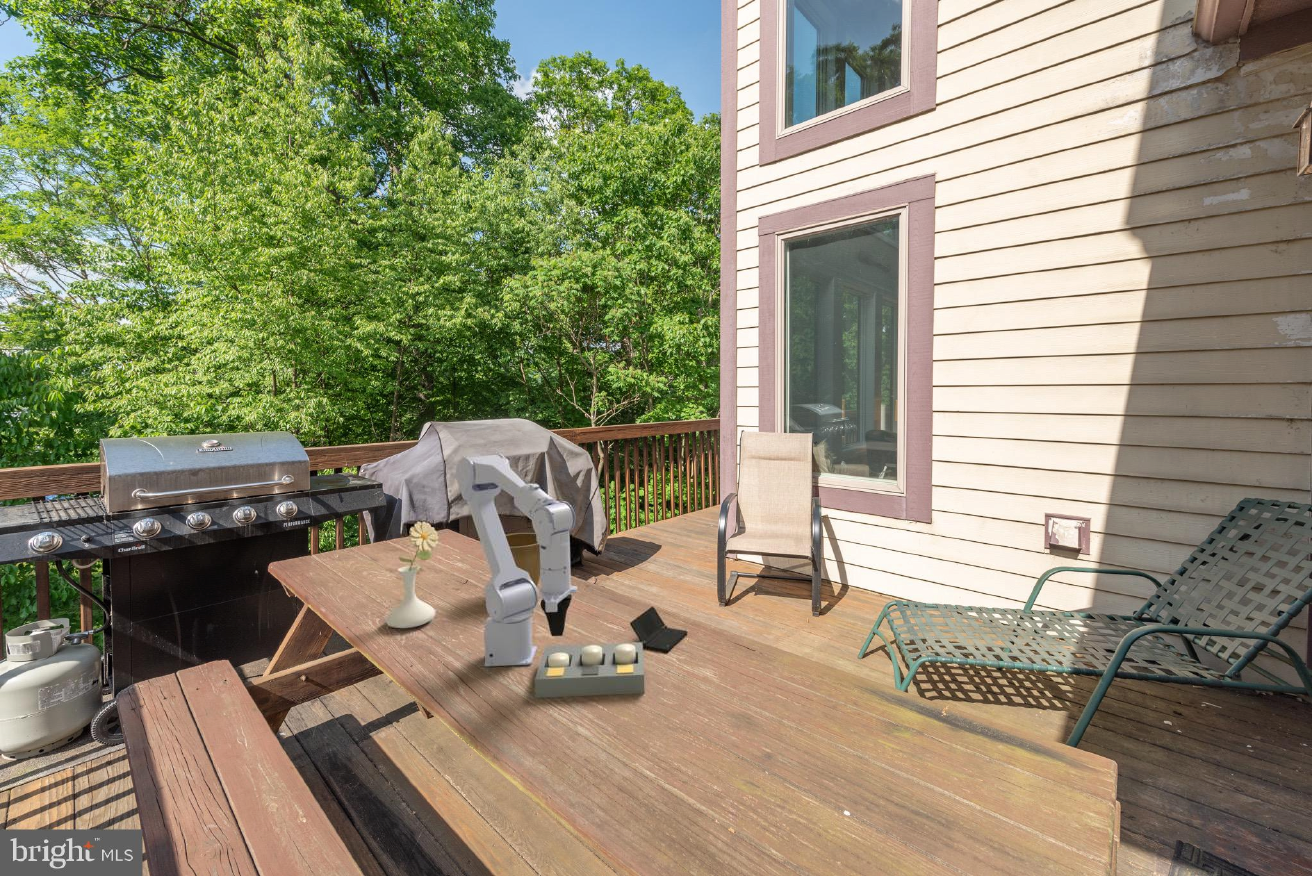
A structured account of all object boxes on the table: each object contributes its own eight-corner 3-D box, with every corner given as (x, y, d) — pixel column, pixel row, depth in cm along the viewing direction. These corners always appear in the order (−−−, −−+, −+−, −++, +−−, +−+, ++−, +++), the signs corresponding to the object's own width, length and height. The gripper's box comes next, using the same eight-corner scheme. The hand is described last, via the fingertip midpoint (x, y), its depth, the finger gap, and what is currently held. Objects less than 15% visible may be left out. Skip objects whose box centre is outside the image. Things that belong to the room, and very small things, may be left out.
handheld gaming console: (677, 647, 120) (650, 606, 123) (651, 665, 122) (625, 624, 124) (690, 633, 131) (666, 596, 134) (666, 650, 133) (642, 613, 135)
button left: (547, 677, 109) (546, 662, 109) (550, 667, 113) (549, 653, 113) (568, 676, 109) (567, 661, 109) (570, 667, 113) (569, 652, 113)
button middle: (581, 669, 109) (580, 654, 109) (582, 660, 113) (582, 645, 113) (602, 669, 109) (601, 653, 109) (602, 659, 113) (602, 644, 113)
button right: (615, 668, 109) (614, 653, 109) (615, 659, 113) (615, 644, 113) (635, 667, 110) (635, 652, 109) (635, 658, 114) (635, 643, 113)
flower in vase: (394, 637, 133) (388, 531, 131) (379, 623, 141) (374, 523, 139) (449, 621, 141) (445, 522, 139) (433, 609, 150) (428, 515, 148)
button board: (535, 698, 104) (534, 678, 104) (546, 662, 118) (545, 645, 118) (644, 693, 105) (644, 673, 105) (642, 658, 119) (642, 641, 119)
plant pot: (484, 595, 160) (482, 539, 159) (532, 583, 170) (530, 530, 169) (508, 609, 149) (506, 549, 148) (558, 595, 158) (556, 539, 157)
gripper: (572, 577, 103) (574, 650, 103) (579, 555, 117) (581, 619, 118) (533, 578, 102) (535, 651, 103) (544, 556, 117) (546, 620, 118)
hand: (557, 634), depth 111 cm, fingers closed
